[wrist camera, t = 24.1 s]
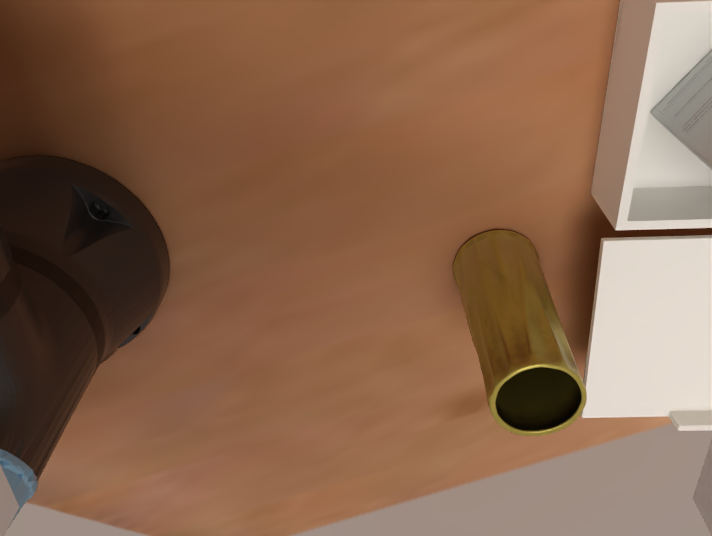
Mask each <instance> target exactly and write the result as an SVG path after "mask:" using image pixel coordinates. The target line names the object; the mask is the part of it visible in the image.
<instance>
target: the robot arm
mask: <svg viewBox="0 0 712 536" xmlns="http://www.w3.org/2000/svg"><path fill="white" fill-rule="evenodd" d="M168 280H169V258H168V252H167V248H166V244H165V242H164V239H163V236H162V234H161V232H160V230H159V228H158V226H157V224H156V222H155V221H154V219H153V218H152V216H151V215H150V213H149V212H148V211H147V209H146V208H145V207H144V206H143V205H142V203H141V202H140V201H139V200H138V199H137V198H136V197H135V196H134V195H133V194H132V193H130V192H129V191H128V190H127V189H126V188H124V187H123V186H122V185H121V184H119V183H118V182H116V181H115V180H113V179H112V178H110V177H109V176H107V175H105V174H103V173H101V172H99V171H97V170H95V169H93V168H91V167H89V166H86V165H83V164H81V163H78V162H74V161H71V160H67V159H62V158H57V157H49V156H25V157H18V158H13V159H9V160H6V161H2V162H0V536H4V535H5V532H6V531H7V529H8V528H9V526H10V525H11V523H12V521H13V520H14V518H15V517H16V515H17V514H18V512H19V511H20V509H21V508H22V506H23V505H24V504H25V502H26V501H27V500H29V499H30V498H31V497H32V496H33V495H34V493H35V491H36V489H37V484H38V482H37V481H38V479H39V477H40V475H41V473H42V471H43V469H44V468H45V466H46V464H47V462H48V460H49V458H50V456H51V454H52V452H53V450H54V448H55V447H56V445H57V443H58V441H59V439H60V437H61V435H62V433H63V431H64V429H65V427H66V426H67V424H68V422H69V420H70V418H71V416H72V414H73V413H74V411H75V409H76V407H77V405H78V403H79V401H80V399H81V398H82V396H83V394H84V392H85V390H86V388H87V386H88V385H89V383H90V381H91V379H92V377H93V375H94V373H95V371H96V370H97V368H98V366H99V365H100V364H101V363H102V362H104V361H105V360H106V359H108V358H109V357H110V356H111V355H113V354H114V353H115V352H116V351H117V349H118V348H120V347H122V346H124V345H126V344H127V343H129V342H130V341H131V340H133V339H134V338H135V337H137V336H138V335H139V334H140V333H141V332H142V331H143V330H144V329H145V328H146V326H147V325H148V324H149V323H150V321H151V320H152V318H153V317H154V315H155V313H156V311H157V309H158V307H159V305H160V303H161V301H162V299H163V297H164V294H165V292H166V288H167V285H168ZM693 499H694V501H695V503H696V505H697V507H698V509H699V511H700V513H701V515H702V517H703V519H704V521H705V523H706V525H707V527H708V529H709V531H710V533H711V535H712V440H711V444H710V446H709V449H708V453H707V455H706V459H705V462H704V465H703V468H702V471H701V474H700V477H699V480H698V483H697V487H696V489H695V493H694V496H693Z"/></svg>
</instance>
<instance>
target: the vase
mask: <svg viewBox="0 0 712 536" xmlns="http://www.w3.org/2000/svg"><path fill="white" fill-rule="evenodd" d="M453 274H454V279H455V281H456V284H457V287H458V288H459V291H460V295H461V299H462V303H463V307H464V310H465V314H466V318H467V322H468V326H469V330H470V333H471V337H472V340H473V343H474V346H475V348H476V351H477V354H478V357H479V362H480V366H481V370H482V374H483V379H484V383H485V389H486V396H487V402H488V405H489V408H490V411H491V413H492V415H493V417H494V419H495V421H496V422H497V423H498V424H499V425H500V426H501V427H503V428H504V429H506V430H507V431H510V432H512V433H514V434H517V435H522V436H542V435H547V434H551V433H554V432H557V431H560V430H562V429H564V428H566V427H567V426H569V425H570V424H572V423H573V422H574V421H575V420H576V419H577V418H578V417H579V415H580V414H581V412H582V411H583V409H584V407H585V405H586V400H587V393H586V387H585V385H584V383H583V381H582V378H581V376H580V373H579V371H578V368H577V365H576V362H575V359H574V357H573V354H572V351H571V349H570V346H569V343H568V341H567V338H566V335H565V333H564V330H563V327H562V324H561V322H560V319H559V316H558V313H557V311H556V308H555V305H554V303H553V300H552V297H551V295H550V292H549V289H548V286H547V283H546V280H545V277H544V274H543V271H542V269H541V266H540V261H539V256H538V253H537V251H536V249H535V247H534V246H533V244H532V243H531V242H530V241H529V240H528V239H527V238H525V237H524V236H522V235H521V234H518V233H516V232H513V231H508V230H492V231H488V232H484V233H481V234H479V235H476V236H475V237H473V238H471V239H470V240H469V241H467V242H466V243H465V244H464V245H463V246H462V247H461V249H460V250H459V252H458V253H457V255H456V258H455V261H454V265H453Z"/></svg>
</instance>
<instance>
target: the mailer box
mask: <svg viewBox="0 0 712 536" xmlns="http://www.w3.org/2000/svg"><path fill="white" fill-rule="evenodd" d="M711 51H712V0H620V6H619V12H618V19H617V25H616V32H615V38H614V45H613V51H612V58H611V64H610V71H609V77H608V84H607V90H606V97H605V103H604V110H603V116H602V123H601V129H600V136H599V142H598V149H597V155H596V162H595V168H594V175H593V181H592V188H591V195H592V196H593V198H594V199H595V201H596V202H597V204H598V205H599V207H600V208H601V210H602V211H603V213H604V214H605V216H606V217H607V219H608V220H609V222H610V223H611V225H612V226H613V228H614V229H615V230H651V229H686V228H712V169H710V168H709V167H708V166H707V165H706V164H705V163H704V162H702V161H701V160H700V159H699V158H698V157H697V156H696V155H695V154H693V153H692V152H691V151H690V150H689V149H688V148H687V147H686V146H685V145H684V144H682V143H681V142H680V141H679V140H678V139H677V138H676V137H675V136H674V135H673V134H672V133H671V132H669V131H668V130H667V129H666V128H665V127H664V126H663V125H662V124H661V123H660V122H659V121H658V120H657V119H656V118H655V117H654V116H653V115H652V114H651V112H652V111H653V110H654V109H655V108H656V107H657V106H658V105H659V104H660V103H661V102H662V101H663V100H664V99H665V98H666V97H667V96H668V95H669V93H670V92H671V91H672V90H673V89H674V88H675V87H676V86H677V85H678V84H679V83H680V82H681V81H682V80H683V79H684V78H685V77H686V76H687V75H688V74H689V73H690V72H691V71H692V70H693V69H694V68H695V67H696V66H697V65H698V64H699V63H700V62H701V61H702V60H703V59H704V58H705V57H706V56H707V55H708V54H709V53H710V52H711Z"/></svg>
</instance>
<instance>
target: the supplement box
mask: <svg viewBox="0 0 712 536" xmlns="http://www.w3.org/2000/svg"><path fill="white" fill-rule="evenodd" d="M651 114H652V115H653V116H654V117H655V118H656V119H657V120H658V121H659V122H660V123H661V124H662V125H663V126H664V127H665V128H666V129H667V130H668V131H669V132H671V133H672V134H673V135H674V136H675V137H676V138H677V139H678V140H679V141H680V142H681V143H682V144H684V145H685V146H686V147H687V148H688V149H689V150H690V151H691V152H692V153H693V154H695V155H696V156H697V157H698V158H699V159H700V160H701V161H702V162H704V163H705V164H706V165H707V166H708V167H709V168H710V169H712V51H711V52H710V53H709V54H708V55H707V56H706V57H705V58H704V59H703V60H702V61H701V62H700V63H699V64H698V65H697V66H696V67H695V68H694V69H693V70H692V71H691V72H690V73H689V74H688V75H687V76H686V77H685V78H684V79H683V80H682V81H681V82H680V83H679V84H678V85H677V86H676V87H675V88H674V89H673V90H672V91H671V92H670V93H669V95H668V96H667V97H666V98H665V99H664V100H663V101H662V102H661V103H660V104H659V105H658V106H657V107H656V108H655V109H654V110H653V111H652V112H651Z"/></svg>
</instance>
